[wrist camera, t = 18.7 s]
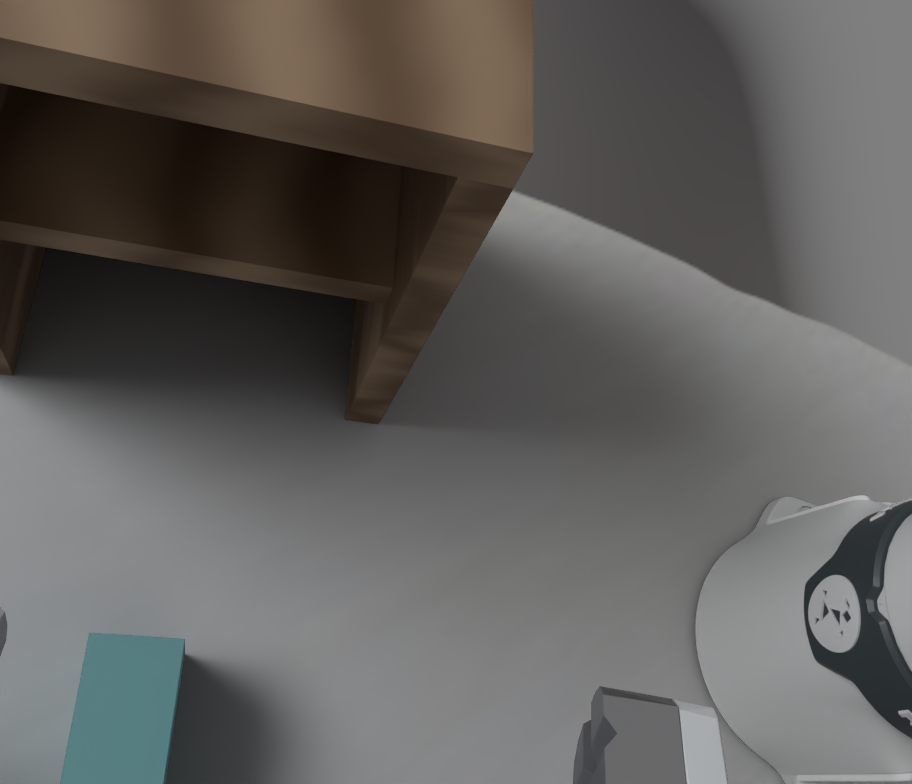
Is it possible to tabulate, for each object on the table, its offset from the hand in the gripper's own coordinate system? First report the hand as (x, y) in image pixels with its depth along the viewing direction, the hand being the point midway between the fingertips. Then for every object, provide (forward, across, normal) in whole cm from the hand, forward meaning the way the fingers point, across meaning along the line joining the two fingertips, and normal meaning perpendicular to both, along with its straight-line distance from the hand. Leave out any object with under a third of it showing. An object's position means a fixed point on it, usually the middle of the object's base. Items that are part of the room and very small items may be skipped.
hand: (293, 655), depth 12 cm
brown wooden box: (+38, +15, +16) cm, 44 cm away
